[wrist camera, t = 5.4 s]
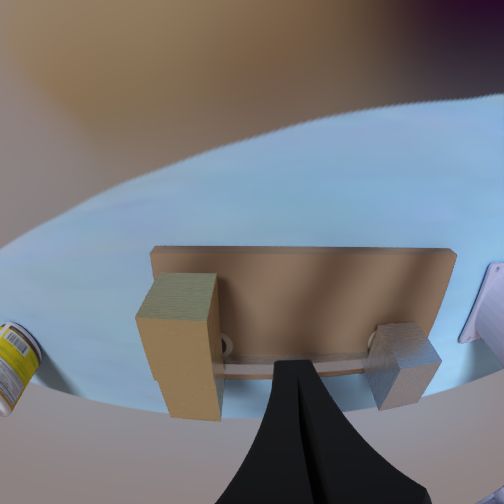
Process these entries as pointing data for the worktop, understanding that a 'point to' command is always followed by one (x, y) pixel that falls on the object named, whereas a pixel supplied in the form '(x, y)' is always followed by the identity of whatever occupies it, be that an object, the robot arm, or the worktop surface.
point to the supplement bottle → (15, 364)
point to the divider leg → (185, 343)
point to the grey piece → (369, 364)
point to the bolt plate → (313, 295)
